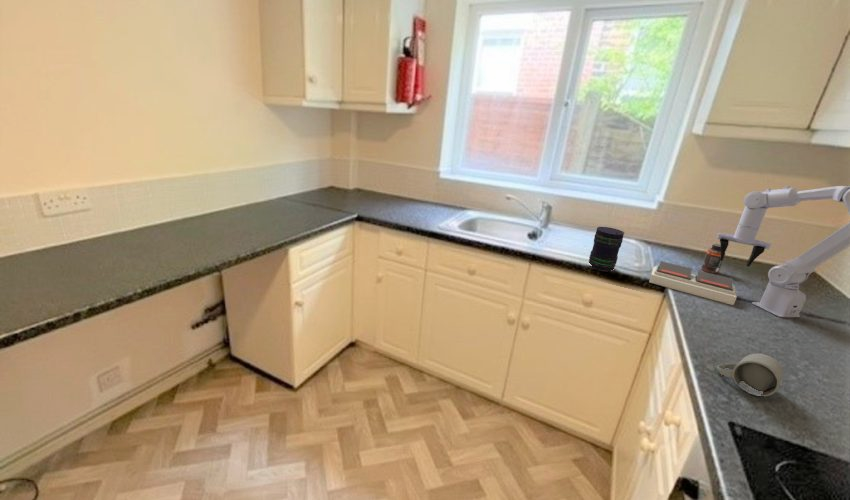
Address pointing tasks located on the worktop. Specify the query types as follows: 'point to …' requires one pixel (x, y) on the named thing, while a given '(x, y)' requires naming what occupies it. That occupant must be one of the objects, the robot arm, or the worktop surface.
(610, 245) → the storage jar
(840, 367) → the worktop surface
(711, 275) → the rocker near
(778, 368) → the ceramic mug
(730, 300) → the rocker switch panel
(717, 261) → the supplement bottle
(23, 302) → the worktop surface
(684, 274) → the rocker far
